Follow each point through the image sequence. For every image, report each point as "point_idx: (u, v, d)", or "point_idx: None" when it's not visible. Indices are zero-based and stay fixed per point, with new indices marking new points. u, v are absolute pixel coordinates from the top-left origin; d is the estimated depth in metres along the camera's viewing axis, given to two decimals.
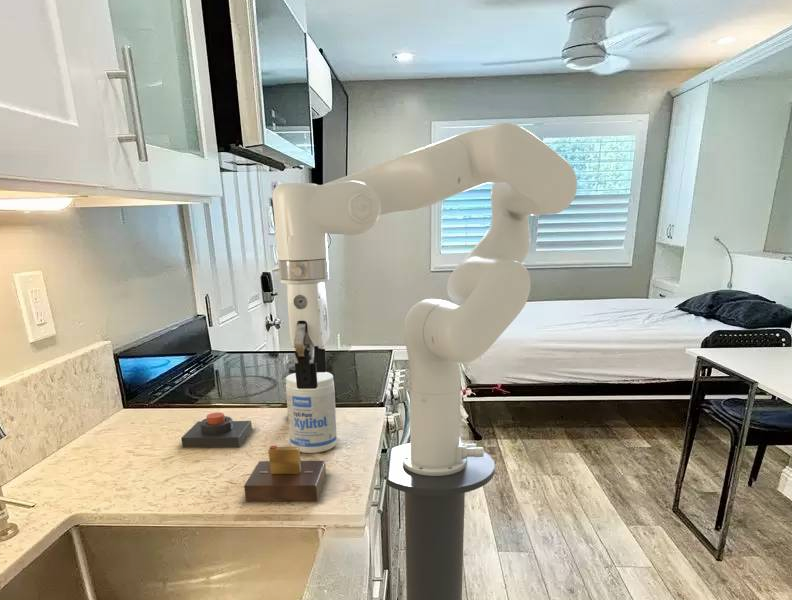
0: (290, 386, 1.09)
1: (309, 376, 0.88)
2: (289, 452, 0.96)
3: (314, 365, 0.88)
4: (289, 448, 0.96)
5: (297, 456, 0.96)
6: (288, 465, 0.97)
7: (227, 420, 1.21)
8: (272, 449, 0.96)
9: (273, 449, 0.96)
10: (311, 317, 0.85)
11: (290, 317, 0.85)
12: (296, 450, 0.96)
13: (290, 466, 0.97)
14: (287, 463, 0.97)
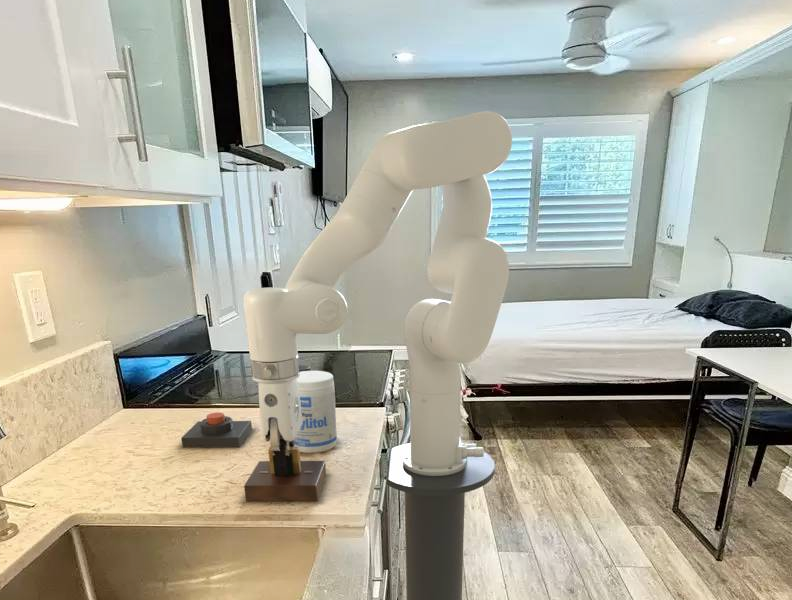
0: None
1: (286, 466, 0.95)
2: None
3: (290, 456, 0.95)
4: None
5: (297, 456, 0.96)
6: None
7: (227, 420, 1.21)
8: None
9: None
10: (281, 414, 0.89)
11: (261, 414, 0.89)
12: (296, 450, 0.96)
13: None
14: None
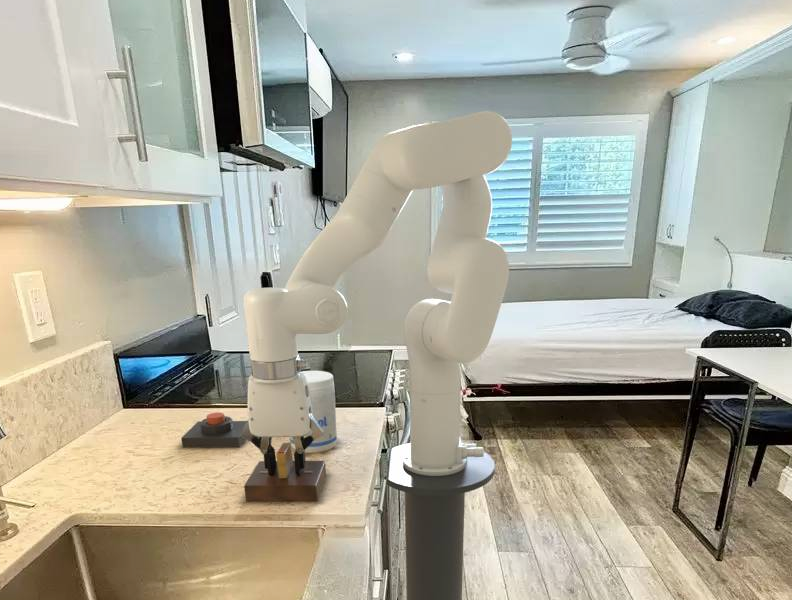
0: None
1: (304, 458, 0.98)
2: (289, 448, 0.97)
3: None
4: (286, 445, 0.97)
5: (290, 449, 0.99)
6: (290, 462, 0.98)
7: (227, 420, 1.21)
8: (284, 452, 0.95)
9: (285, 451, 0.95)
10: (310, 401, 0.94)
11: (306, 407, 0.92)
12: (290, 443, 0.98)
13: (290, 462, 0.98)
14: (289, 460, 0.98)
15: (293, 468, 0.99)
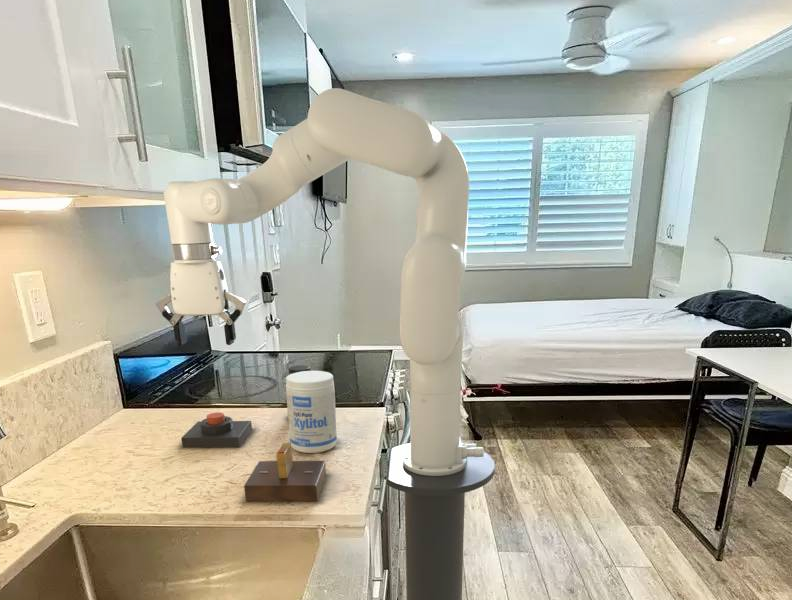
0: (290, 386, 1.09)
1: (234, 332, 1.13)
2: (289, 448, 0.97)
3: None
4: (286, 445, 0.97)
5: (290, 449, 0.99)
6: (290, 462, 0.98)
7: (227, 420, 1.21)
8: (284, 452, 0.95)
9: (285, 451, 0.95)
10: (226, 285, 1.11)
11: (220, 287, 1.08)
12: (290, 443, 0.98)
13: (290, 462, 0.98)
14: (289, 460, 0.98)
15: (293, 468, 0.99)
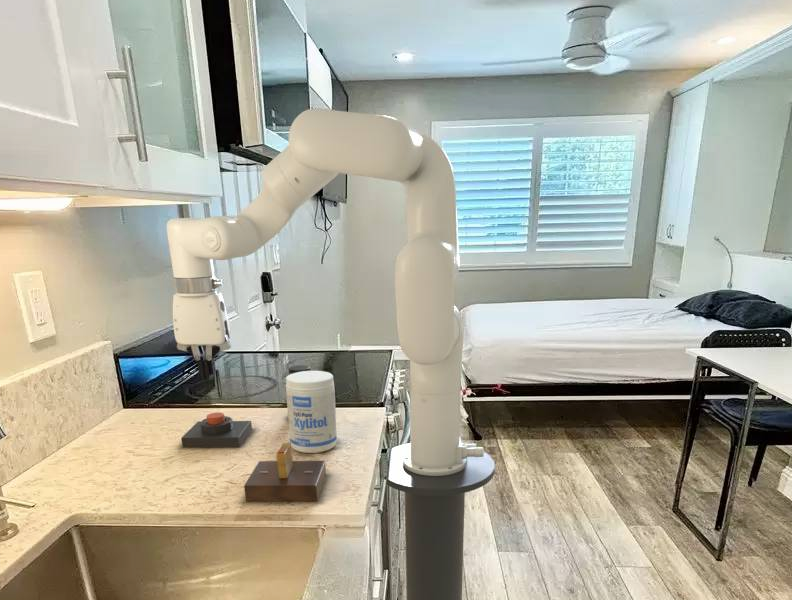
0: (290, 386, 1.09)
1: (214, 366, 1.17)
2: (289, 448, 0.97)
3: None
4: (286, 445, 0.97)
5: (290, 449, 0.99)
6: (290, 462, 0.98)
7: (227, 420, 1.21)
8: (284, 452, 0.95)
9: (285, 451, 0.95)
10: None
11: (221, 319, 1.11)
12: (290, 443, 0.98)
13: (290, 462, 0.98)
14: (289, 460, 0.98)
15: (293, 468, 0.99)
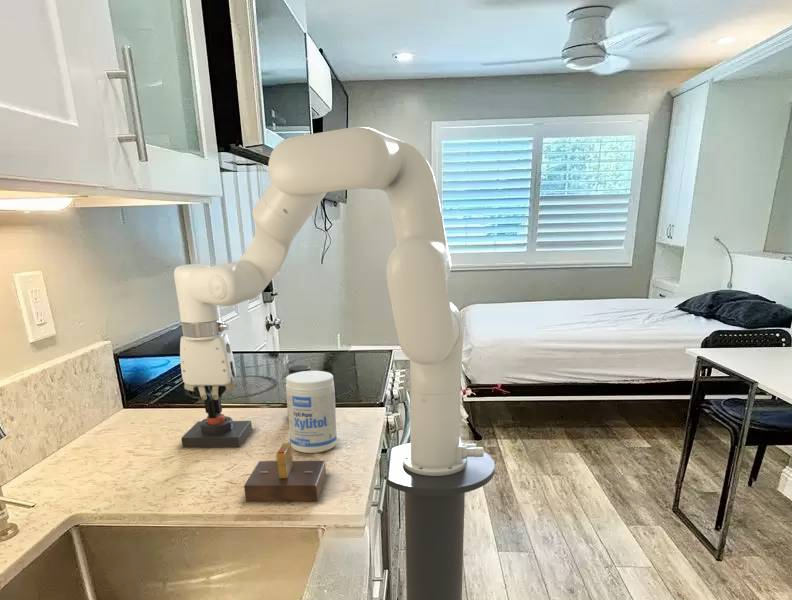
0: (290, 386, 1.09)
1: (221, 405, 1.20)
2: (289, 448, 0.97)
3: None
4: (286, 445, 0.97)
5: (290, 449, 0.99)
6: (290, 462, 0.98)
7: (227, 420, 1.21)
8: (284, 452, 0.95)
9: (285, 451, 0.95)
10: (232, 357, 1.17)
11: (227, 361, 1.14)
12: (290, 443, 0.98)
13: (290, 462, 0.98)
14: (289, 460, 0.98)
15: (293, 468, 0.99)
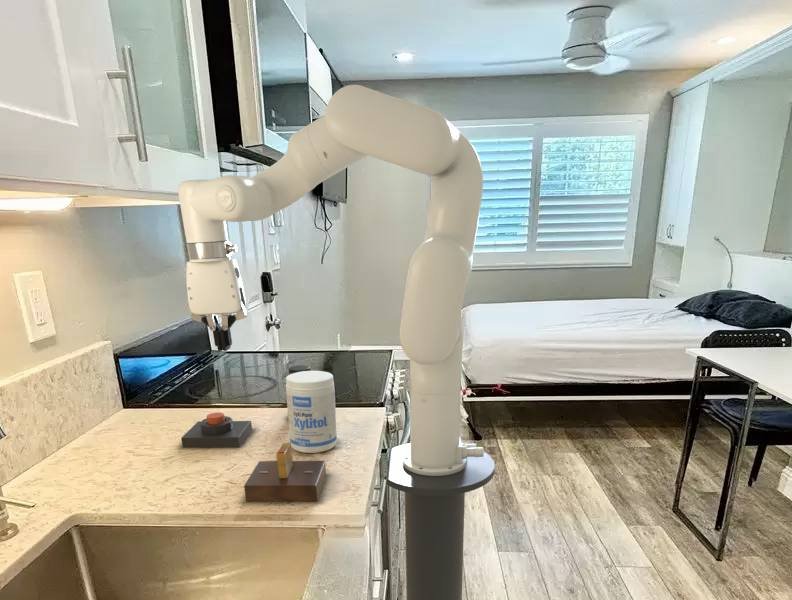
0: (290, 386, 1.09)
1: (230, 337, 1.13)
2: (289, 448, 0.97)
3: None
4: (286, 445, 0.97)
5: (290, 449, 0.99)
6: (290, 462, 0.98)
7: (227, 420, 1.21)
8: (284, 452, 0.95)
9: (285, 451, 0.95)
10: (242, 284, 1.10)
11: (236, 286, 1.07)
12: (290, 443, 0.98)
13: (290, 462, 0.98)
14: (289, 460, 0.98)
15: (293, 468, 0.99)
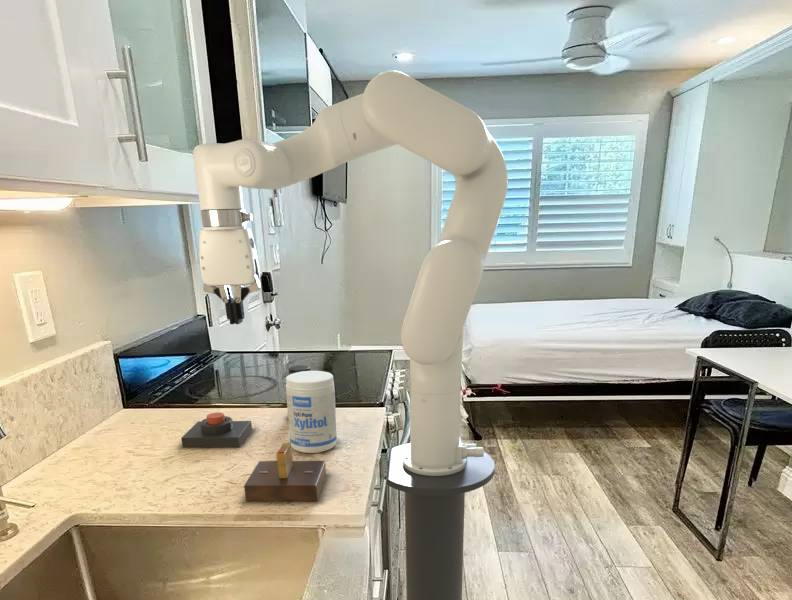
0: (290, 386, 1.09)
1: (243, 311, 1.10)
2: (289, 448, 0.97)
3: None
4: (286, 445, 0.97)
5: (290, 449, 0.99)
6: (290, 462, 0.98)
7: (227, 420, 1.21)
8: (284, 452, 0.95)
9: (285, 451, 0.95)
10: (256, 255, 1.06)
11: (251, 256, 1.03)
12: (290, 443, 0.98)
13: (290, 462, 0.98)
14: (289, 460, 0.98)
15: (293, 468, 0.99)
